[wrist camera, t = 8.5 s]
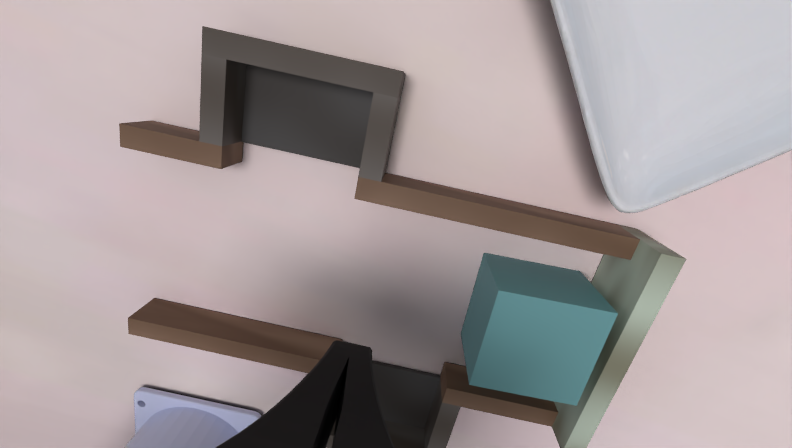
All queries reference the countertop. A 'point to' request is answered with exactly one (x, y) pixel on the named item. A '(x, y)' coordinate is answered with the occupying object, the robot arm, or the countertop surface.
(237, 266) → the countertop surface
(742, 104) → the salad plate
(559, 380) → the teal block
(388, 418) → the trap channel
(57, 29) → the countertop surface
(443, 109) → the countertop surface
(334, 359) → the robot arm
